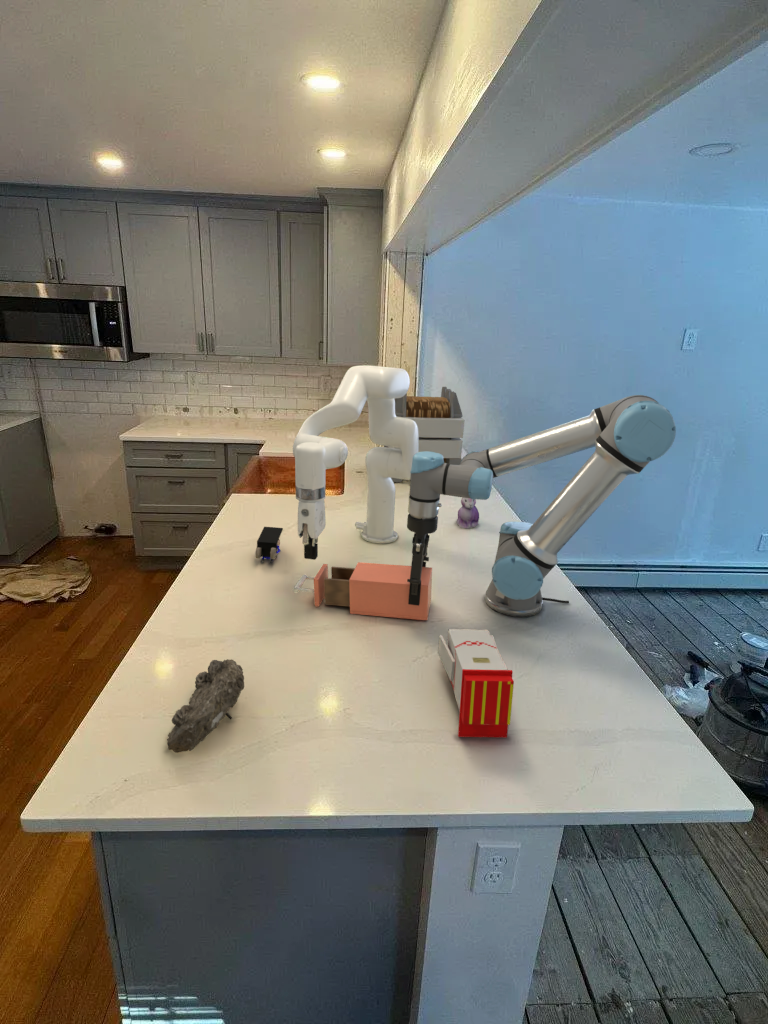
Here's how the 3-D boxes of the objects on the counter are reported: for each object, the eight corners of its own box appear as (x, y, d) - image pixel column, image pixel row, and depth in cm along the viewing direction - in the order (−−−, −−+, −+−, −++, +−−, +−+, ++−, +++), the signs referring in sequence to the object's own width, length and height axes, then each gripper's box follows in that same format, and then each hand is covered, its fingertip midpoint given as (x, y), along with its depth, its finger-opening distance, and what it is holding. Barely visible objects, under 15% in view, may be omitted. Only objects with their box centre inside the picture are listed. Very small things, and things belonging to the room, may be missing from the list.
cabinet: (349, 613, 147) (349, 579, 143) (358, 594, 157) (358, 562, 153) (427, 620, 144) (428, 585, 140) (431, 600, 154) (432, 567, 150)
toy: (488, 613, 130) (523, 677, 101) (484, 667, 133) (517, 744, 104) (435, 612, 130) (455, 676, 101) (432, 666, 133) (451, 743, 103)
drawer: (292, 604, 149) (290, 577, 147) (303, 587, 158) (302, 562, 156) (385, 612, 145) (385, 584, 143) (391, 595, 154) (391, 568, 152)
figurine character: (277, 570, 171) (284, 545, 185) (276, 548, 168) (283, 525, 181) (254, 569, 171) (263, 545, 184) (253, 548, 168) (262, 524, 181)
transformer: (382, 463, 289) (386, 382, 275) (445, 464, 293) (451, 384, 279) (390, 482, 257) (394, 392, 243) (460, 483, 261) (468, 394, 247)
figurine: (465, 530, 205) (468, 491, 200) (449, 521, 213) (452, 483, 208) (486, 527, 209) (490, 488, 204) (469, 518, 218) (473, 480, 213)
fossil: (192, 660, 117) (244, 628, 112) (224, 691, 120) (276, 661, 115) (142, 746, 98) (202, 712, 93) (182, 779, 101) (242, 748, 96)
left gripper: (316, 502, 136) (316, 571, 142) (332, 484, 150) (332, 548, 156) (286, 500, 137) (288, 568, 143) (305, 482, 151) (305, 545, 157)
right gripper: (433, 533, 129) (426, 618, 136) (441, 501, 150) (434, 576, 158) (401, 529, 130) (395, 613, 137) (413, 498, 151) (408, 572, 159)
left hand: (311, 557), depth 150 cm, fingers closed
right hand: (416, 593), depth 148 cm, fingers closed on cabinet, 11 cm apart
